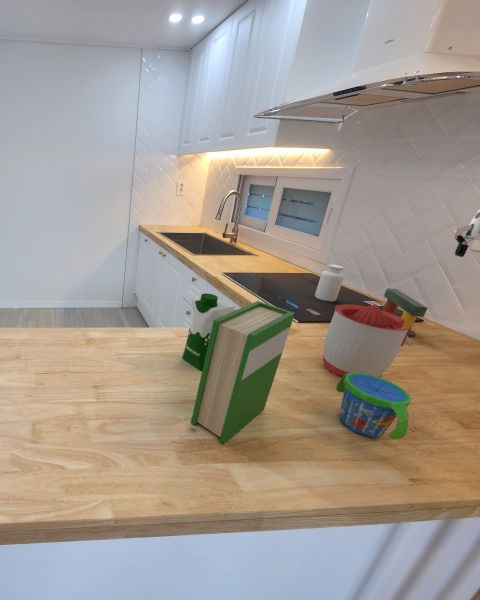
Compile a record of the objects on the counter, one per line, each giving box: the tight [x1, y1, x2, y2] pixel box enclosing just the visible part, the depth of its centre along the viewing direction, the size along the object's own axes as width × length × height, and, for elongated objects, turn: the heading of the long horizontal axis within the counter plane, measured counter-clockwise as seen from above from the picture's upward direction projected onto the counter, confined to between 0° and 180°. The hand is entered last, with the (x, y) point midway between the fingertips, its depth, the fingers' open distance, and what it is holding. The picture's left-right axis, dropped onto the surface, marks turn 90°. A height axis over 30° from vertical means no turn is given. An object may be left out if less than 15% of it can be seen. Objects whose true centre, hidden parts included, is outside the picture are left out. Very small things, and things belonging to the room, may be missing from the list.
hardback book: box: [190, 300, 296, 446], centre depth 69 cm, size 18×7×24 cm, turn 129°
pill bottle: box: [314, 264, 345, 302], centre depth 146 cm, size 8×8×15 cm
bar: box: [383, 287, 429, 318], centre depth 121 cm, size 3×20×3 cm, turn 161°
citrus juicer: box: [322, 303, 413, 378], centre depth 89 cm, size 16×17×20 cm
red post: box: [382, 298, 399, 315], centre depth 128 cm, size 7×7×8 cm
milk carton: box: [182, 292, 236, 372], centre depth 90 cm, size 9×9×20 cm
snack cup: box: [335, 373, 412, 440], centre depth 71 cm, size 16×10×10 cm
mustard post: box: [400, 310, 418, 338], centre depth 118 cm, size 7×7×8 cm
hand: (477, 257), depth 110 cm, fingers open, 9 cm apart
